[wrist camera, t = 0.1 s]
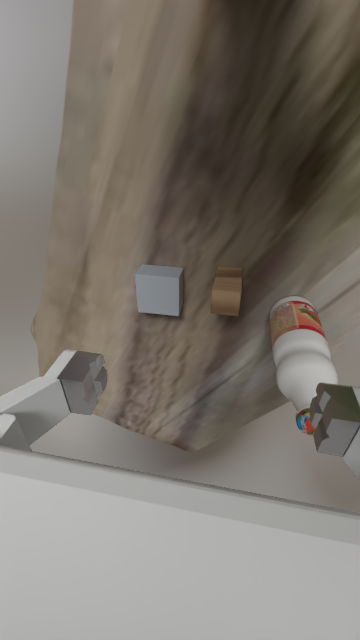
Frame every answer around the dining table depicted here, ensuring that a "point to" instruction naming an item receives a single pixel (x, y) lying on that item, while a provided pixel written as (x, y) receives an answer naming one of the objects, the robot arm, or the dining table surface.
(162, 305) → the slate grey base block
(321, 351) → the fruit juice
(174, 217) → the dining table surface
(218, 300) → the walnut block
